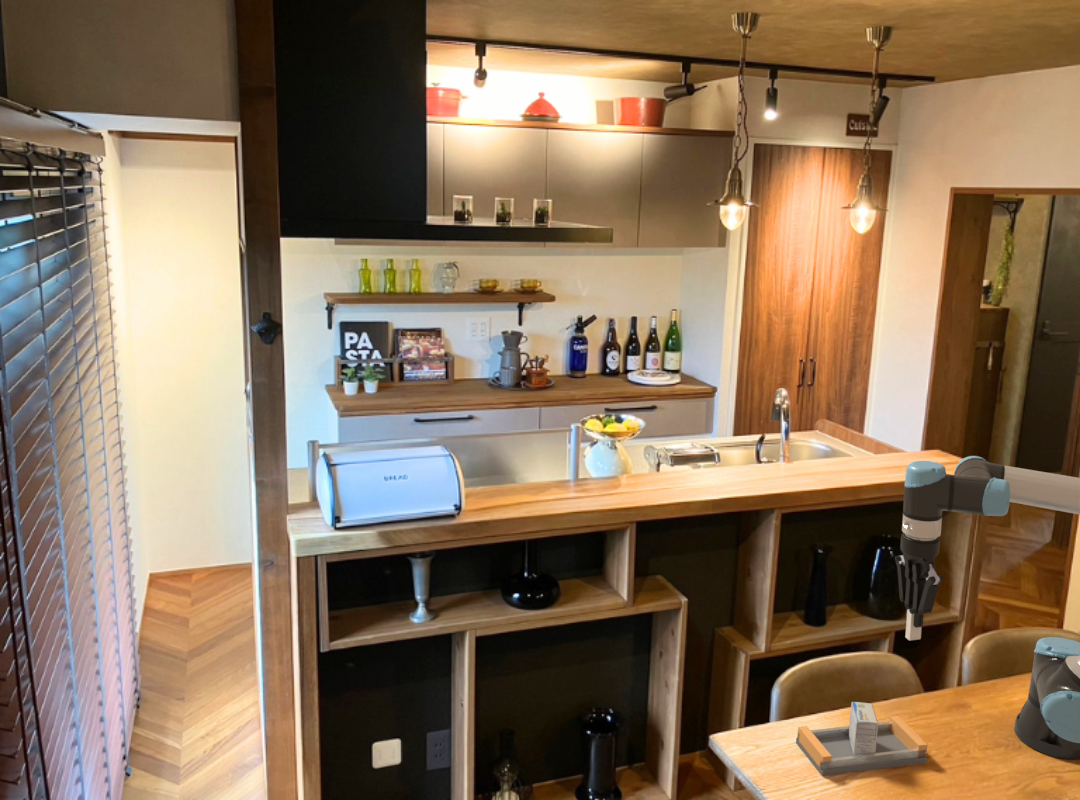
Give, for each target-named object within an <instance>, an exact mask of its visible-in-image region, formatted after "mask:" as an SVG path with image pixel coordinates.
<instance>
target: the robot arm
mask: <svg viewBox="0 0 1080 800" xmlns="http://www.w3.org/2000/svg"><path fill="white" fill-rule="evenodd" d="M905 471H906V472H905V478H904V488H903V503H902V504H903V505H902V506H903V508H902V524H901V532H902V533H901V536H900V551H901V552H902V555H895V556H894V561H895V564H896V567H897V569H896V570H897V580H898V581H897V582H898V592H899V595H898V596H899V601H900V602H901V603H904V607H905V608H906V609H905V610H906V611H905V621H906V624H905V636H904V637H905V638H906V639H907V640H908V641H917V640H921V638H922V628H923V626H924V618H925V617H924V615H925V614H931V613H932V612H933V608H934V605H935V602H936V598H937V594H938V590H939V587H940V585H941V583H942V582H943V581H944V578H943V576H942V575H937V572H936V571H935V570H936V565H935V558H936V557H937V556H939V554H940V546H941V545H940V544H941V539H940V537H941V535H942V534H941V532H942V523H943V522H942V521H943V512H944V511H946V512H955V513H962V514H970V515H980V516H986V517H990V516H991V517H1004V516H1006V515H1007V514H1008V512H1009V508H1010V503H1016V504H1022V505H1026V506H1031V507H1037V508H1043V509H1048V510H1051V511H1059V512H1064V513H1070V514H1075V515H1079V516H1080V477H1075V476H1070V475H1064V474H1058V473H1052V472H1045V471H1039V470H1033V469H1027V468H1021V467H1015V466H1009V465H1004V464H999V463H992V462H989V461H987V460H986V458H984V457H981V456H978V455H968V456H966V457H964V458H962V459H960V460H959V462H957V464H956V466H955V468H954V473H953V474H948V473H947V471H946V467H945V465H943V464H942V463H939V462H937V461H936V462H933V461H931V460H916V461H913V462H910V463H909V464H908V465H907V467H906V470H905ZM1033 652H1034V653H1033V654H1034V656H1033V663H1032V669H1031V676H1030V681H1029V682H1030V683H1029V689H1028V696H1027V699H1026V701H1025V702H1024V704H1023V706H1022V707H1021V709H1020V712H1019V713H1018V714H1017V715H1016V717H1015V721H1014V727H1013V729H1014V730H1013V731H1014V732H1015V735H1016V736H1017V738H1018V739H1019V740H1020V741H1021V742H1023V743H1024V744H1025V745H1026V746H1028V747H1030V748H1031V749H1033V750H1036V751H1037V752H1039V753H1042V754H1043V755H1047V756H1051V757H1054V758H1059V759H1067V760H1080V641H1077V640H1074V639H1070V638H1064V637H1056V636H1054V637H1053V636H1049V637H1042V638H1039V639H1038V640H1037V641H1036V644H1035V649H1033Z"/></svg>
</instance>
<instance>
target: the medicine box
mask: <svg viewBox="0 0 1080 800" xmlns="http://www.w3.org/2000/svg"><path fill="white" fill-rule="evenodd" d="M850 704H851V705H850V716H849V725H848V726H849V739H850V743H851V747H852V751H853V755H854V756H857V755H865V754H873V753H876V742H877V731H878V723H879V722H878V720H877V716H876V713H875V710H874V706H873V703H869V702H861V701H851V703H850Z"/></svg>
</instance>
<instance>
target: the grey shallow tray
mask: <svg viewBox="0 0 1080 800" xmlns="http://www.w3.org/2000/svg"><path fill="white" fill-rule="evenodd" d="M795 739H796V740H795V744H796V745H797V746H798V748H799V749H800V750H801V751H802V752H803V754H804V755H805V756H806V758H807V759H808V760H809V761H810V763H811V764H812V766H814V768H815V769H816V770H817V772H818V773H819V774H820V775H821V777H827V776H834V775H842V774H844V775H845V774H850V773H858V772H859V773H860V772H865V771H866V772H868V771H874V770H883V769H890V768H891V769H892V768H899V767H907V766H915V765H922V764H923V765H925V764H927V763H928V762H927V761H928V757H927V752H928V744H927V743H926V742H925V741H924V740H923V738H922V737H921V736H920V735H918V734H917V733H916V731H914V730H913V729H912V728H911V727H910V725H908V724H907V723H906V722H905V721H904V720H903V719H902V718H901V717H900V716H899V715H892V716H889V721H882V722H881V721H880V722H878V731H877V742H876V753H873V754H865V755H857V756H854V755H853V751H852V747H851V743H850V739H849V725H847V726H839V727H829V728H819V729H812V730H811V729H810V728H809V727H808V726H807V725H804V726H798V727H797V736H796V737H795Z"/></svg>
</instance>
